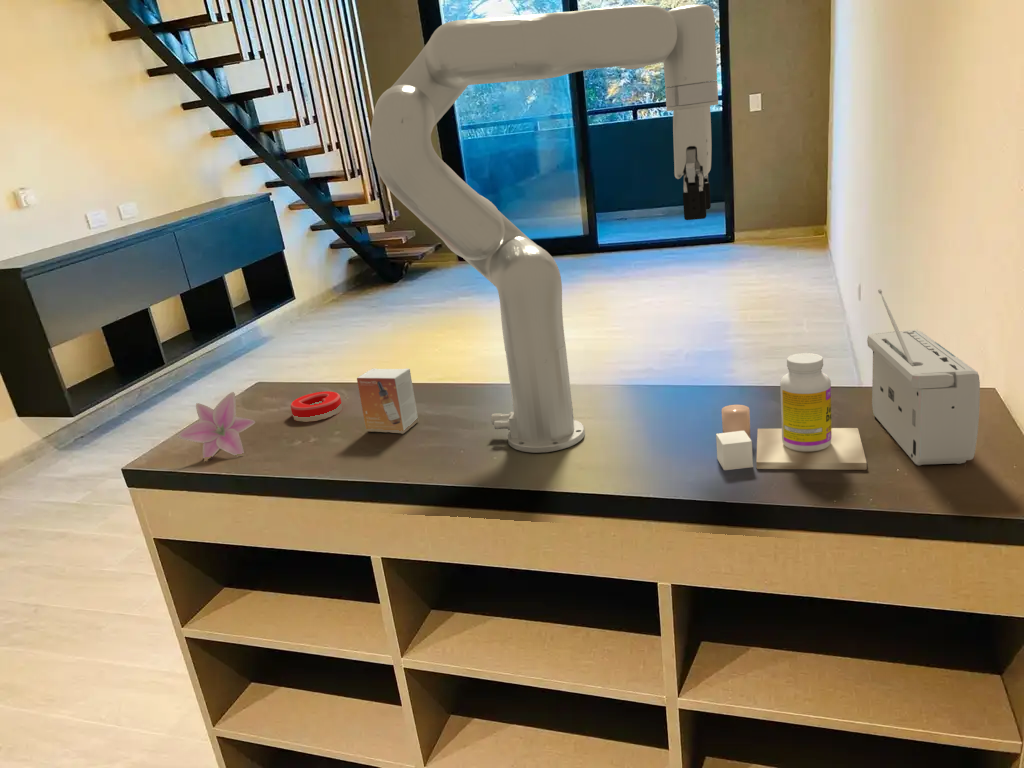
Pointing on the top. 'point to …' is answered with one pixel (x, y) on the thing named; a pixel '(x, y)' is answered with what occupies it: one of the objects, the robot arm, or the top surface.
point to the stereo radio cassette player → (924, 396)
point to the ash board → (837, 455)
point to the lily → (218, 428)
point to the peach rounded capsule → (736, 419)
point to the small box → (387, 399)
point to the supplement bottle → (806, 404)
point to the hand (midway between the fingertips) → (698, 214)
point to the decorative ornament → (304, 408)
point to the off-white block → (734, 450)
